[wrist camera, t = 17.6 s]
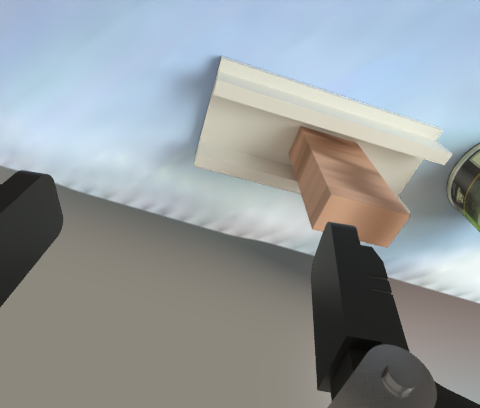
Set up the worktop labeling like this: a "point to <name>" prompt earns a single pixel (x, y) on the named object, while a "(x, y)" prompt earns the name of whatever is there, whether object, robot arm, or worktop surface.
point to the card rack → (307, 115)
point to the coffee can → (467, 186)
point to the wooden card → (344, 187)
